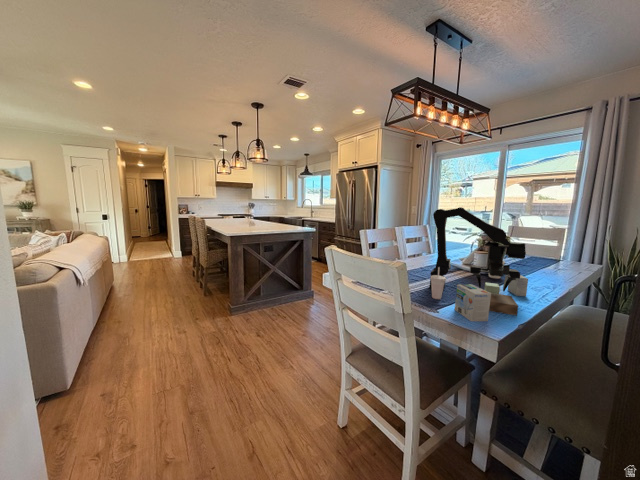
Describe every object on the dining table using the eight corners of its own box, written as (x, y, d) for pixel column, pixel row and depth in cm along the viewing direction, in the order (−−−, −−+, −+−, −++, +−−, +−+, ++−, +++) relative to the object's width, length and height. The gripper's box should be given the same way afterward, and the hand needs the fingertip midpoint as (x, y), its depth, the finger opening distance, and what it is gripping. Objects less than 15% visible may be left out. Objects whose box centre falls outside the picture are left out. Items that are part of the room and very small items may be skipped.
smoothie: (444, 296, 119) (446, 266, 117) (444, 301, 113) (447, 270, 111) (429, 294, 121) (431, 265, 119) (428, 298, 116) (431, 268, 113)
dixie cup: (506, 278, 149) (508, 261, 147) (495, 279, 146) (497, 262, 145) (493, 274, 157) (495, 258, 155) (482, 275, 154) (484, 259, 153)
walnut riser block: (480, 309, 105) (481, 300, 104) (477, 299, 115) (478, 291, 115) (516, 315, 99) (518, 305, 99) (510, 304, 110) (511, 295, 110)
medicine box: (526, 296, 120) (528, 278, 119) (515, 295, 121) (517, 278, 120) (517, 291, 128) (519, 274, 127) (507, 290, 129) (509, 273, 128)
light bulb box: (453, 309, 104) (456, 284, 103) (469, 309, 105) (472, 283, 103) (471, 322, 94) (474, 293, 92) (488, 321, 94) (492, 293, 93)
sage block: (485, 298, 118) (486, 285, 117) (483, 294, 122) (485, 282, 121) (498, 299, 116) (499, 287, 115) (496, 296, 120) (497, 283, 119)
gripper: (473, 257, 113) (469, 291, 115) (526, 262, 105) (521, 298, 107) (470, 253, 123) (467, 284, 125) (519, 257, 115) (514, 290, 117)
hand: (491, 289), depth 118 cm, fingers open, 9 cm apart
